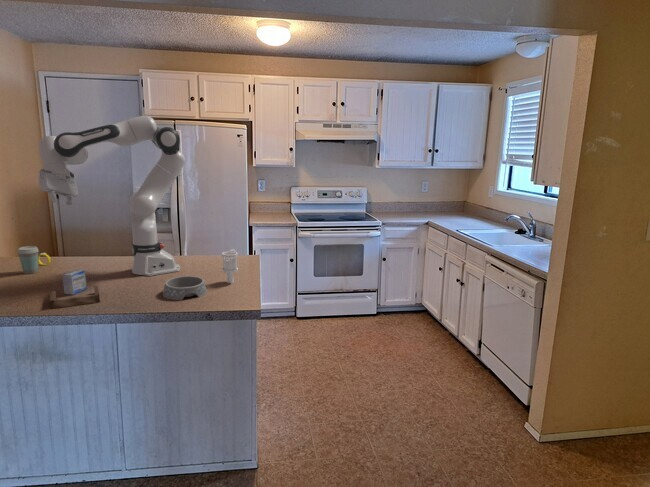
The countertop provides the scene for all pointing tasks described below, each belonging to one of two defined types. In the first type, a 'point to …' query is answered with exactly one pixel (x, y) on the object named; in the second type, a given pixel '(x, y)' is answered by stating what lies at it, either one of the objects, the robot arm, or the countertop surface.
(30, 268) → the coffee cup
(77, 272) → the medicine box
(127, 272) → the countertop surface
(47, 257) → the watch
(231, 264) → the white stemmed cylinder
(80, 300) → the brown u-shaped frame
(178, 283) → the dog bowl
